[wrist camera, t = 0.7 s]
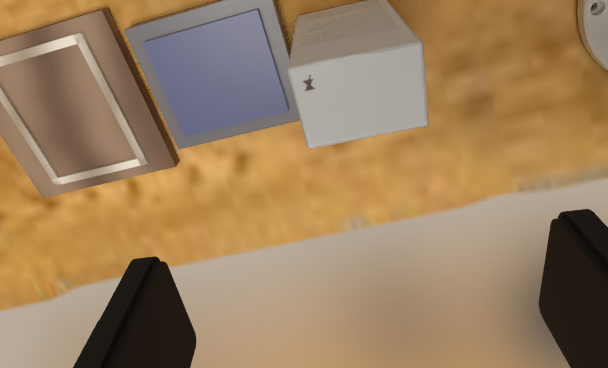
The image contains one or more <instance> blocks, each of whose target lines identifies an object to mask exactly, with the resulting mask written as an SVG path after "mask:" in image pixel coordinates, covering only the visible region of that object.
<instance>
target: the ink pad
mask: <svg viewBox="0 0 608 368" xmlns="http://www.w3.org/2000/svg"><path fill="white" fill-rule="evenodd" d="M124 32H125V34H126V36H127V38H128V41H129V43H130V45H131V47H132V49H133V51H134V54H135V56H136V58H137V60H138V62H139V64H140V67H141V69H142V71H143V73H144V75H145V77H146V80H147V82H148V84H149V86H150V88H151V90H152V93H153V95H154V97H155V99H156V101H157V103H158V106H159V108H160V110H161V112H162V114H163V116H164V119H165V121H166V123H167V125H168V127H169V129H170V132H171V134H172V136H173V138H174V140H175V142H176V145H177V147H178V149H182V148H187V147H191V146H195V145H199V144H203V143H207V142H211V141H216V140H220V139H224V138H228V137H232V136H236V135H240V134H245V133H249V132H253V131H257V130H261V129H265V128H269V127H274V126H278V125H282V124H286V123H290V122H294V121H298V120H300V117H299V113H298V109H297V105H296V101H295V98H294V94H293V90H292V86H291V83H290V79H289V76H288V72H287V69H288V64H289V60H290V50H289V46H288V43H287V39H286V36H285V32H284V29H283V25H282V22H281V18H280V15H279V11H278V8H277V4H276V1H275V0H217V1H213V2H210V3H207V4H203V5H200V6H197V7H193V8H190V9H186V10H183V11H180V12H176V13H173V14H170V15H166V16H163V17H159V18H156V19H153V20H149V21H146V22H143V23H139V24H136V25H132V26H130V27H129V28H127V29H125V30H124Z"/></svg>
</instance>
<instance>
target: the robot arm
mask: <svg viewBox="0 0 608 368" xmlns="http://www.w3.org/2000/svg"><path fill="white" fill-rule="evenodd" d="M593 4H594V6H593V8H592V9H591V6H592V5H593ZM577 18H578V26H579V32H580V35H581V38H582V41H583V43H584V46H585V48H586V49H587V51H588V52H589V54H590V55H591V57H592V58H593V59H594V60H595V61H596V62H597V63H598V64H599V65H601V66H602V67H603V68H604V69H605V70H607V71H608V0H578V8H577ZM539 309H540V312H541V315H542V317H543V319H544V321H545V323H546V325H547V326H548V328H549V330H550V332H551V333H552V335H553V337H554V339H555V341H556V342H557V344H558V346H559V348H560V349H561V351H562V353H563V355H564V356H565V358H566V360H567V362H568V364H569V365H570V367H571V368H608V227H607V226H606V225H605V224H604V223H603V222H602V221H601V220H600V219H599V218H598V216H597V215H596V214H595V213H594V212H592V211H591V210H589V209H583V210H574V211H566V212H561V213H560V215H559V216H558V219H553V220H552V222H551V226H550V233H549V239H548V245H547V252H546V258H545V265H544V271H543V278H542V284H541V291H540V297H539ZM195 348H196V335H195V331H194V329H193V326H192V324H191V322H190V319H189V317H188V314H187V312H186V309H185V307H184V304H183V302H182V300H181V297H180V295H179V292H178V290H177V287H176V285H175V282H174V280H173V277H172V275H171V273H170V270H169V268H168V265H167V263H166V262H161V261H160V260H159V258H157V257H147V258H138V259H133V260H132V261H131V262H130V264H129V266H128V268H127V270H126V272H125V273H124V275H123V277H122V279H121V281H120V283H119V285H118V286H117V288H116V290H115V292H114V294H113V296H112V298H111V300H110V301H109V303H108V305H107V307H106V309H105V311H104V313H103V315H102V316H101V318H100V320H99V321H98V322H97V324H96V326H95V328H94V330H93V332H92V333H91V335H90V337H89V339H88V341H87V343H86V345H85V346H84V348H83V350H82V352H81V354H80V356H79V358H78V359H77V361H76V363H75V365H74V367H73V368H190V366H191V362H192V359H193V355H194V351H195Z"/></svg>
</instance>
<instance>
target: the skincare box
mask: <svg viewBox="0 0 608 368" xmlns="http://www.w3.org/2000/svg"><path fill="white" fill-rule="evenodd" d="M287 72H288V76H289V79H290V83H291V86H292V90H293V94H294V98H295V101H296V105H297V109H298V113H299V117H300V121H301V124H302V128H303V132H304V136H305V140H306V144H307V147H308V148H310V149H312V148H316V147H322V146H327V145H332V144H338V143H343V142H348V141H353V140H358V139H363V138H368V137H373V136H378V135H383V134H388V133H393V132H398V131H403V130H408V129H414V128H419V127H425V126H427V125H428V113H427V97H426V80H425V65H424V52H423V42H422V41H421V40H420V39H419V38H418V37H417V36H416V34H415V33H414V32H413V31H412V30H411V29H410V27H409V26H408V25H407V24H406V23H405V21H404V20H403V19H402V18H401V17H400V15H399V14H398V13H397V12H396V10H395V9H394V8H393V7H392V5H391V4H390V3H389V2H388V1H387V0H366V1H361V2H357V3H353V4H348V5H343V6H339V7H335V8H330V9H326V10H322V11H317V12H313V13H308V14H304V15H299V16H297V19H296V25H295V31H294V36H293V42H292V47H291V53H290V60H289V64H288V69H287Z"/></svg>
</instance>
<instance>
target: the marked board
mask: <svg viewBox="0 0 608 368" xmlns="http://www.w3.org/2000/svg"><path fill="white" fill-rule="evenodd" d="M0 135H1V136H2V138H3V139H4V141H5V142H6V144H7V145H8V147H9V148H10V150H11V151H12V153H13V154H14V156H15V157H16V159H17V160H18V162H19V163H20V165H21V166H22V167H23V169H24V170H25V172H26V173H27V175H28V176H29V178H30V179H31V181H32V182H33V184H34V185H35V187H36V188H37V190H38V191H39V193H40V194H41V196H42V197H43V198H44V197H49V196H53V195H57V194H62V193H66V192H70V191H74V190H79V189H83V188H87V187H91V186H96V185H100V184H104V183H108V182H113V181H117V180H121V179H125V178H130V177H134V176H138V175H142V174H147V173H151V172H155V171H159V170H164V169H168V168H172V167H176V166H177V164H178V162H179V161H180V160H179V158H178V156H177V154H176V152H175V150H174V148H173V146H172V143H171V141H170V139H169V137H168V135H167V133H166V131H165V128H164V126H163V124H162V122H161V120H160V118H159V116H158V113H157V111H156V109H155V107H154V105H153V103H152V101H151V98H150V96H149V94H148V92H147V90H146V88H145V86H144V83H143V81H142V79H141V77H140V75H139V73H138V71H137V68H136V66H135V64H134V62H133V60H132V58H131V56H130V53H129V51H128V49H127V47H126V45H125V43H124V41H123V38H122V36H121V34H120V32H119V30H118V28H117V26H116V23H115V21H114V19H113V17H112V15H111V13H110V11H109V9H108V7H107V8H104V9H101V10H98V11H94V12H91V13H88V14H85V15H81V16H78V17H75V18H71V19H68V20H65V21H62V22H58V23H55V24H52V25H49V26H45V27H42V28H39V29H36V30H32V31H29V32H26V33H23V34H19V35H16V36H13V37H10V38H6V39H3V40H0Z"/></svg>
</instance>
